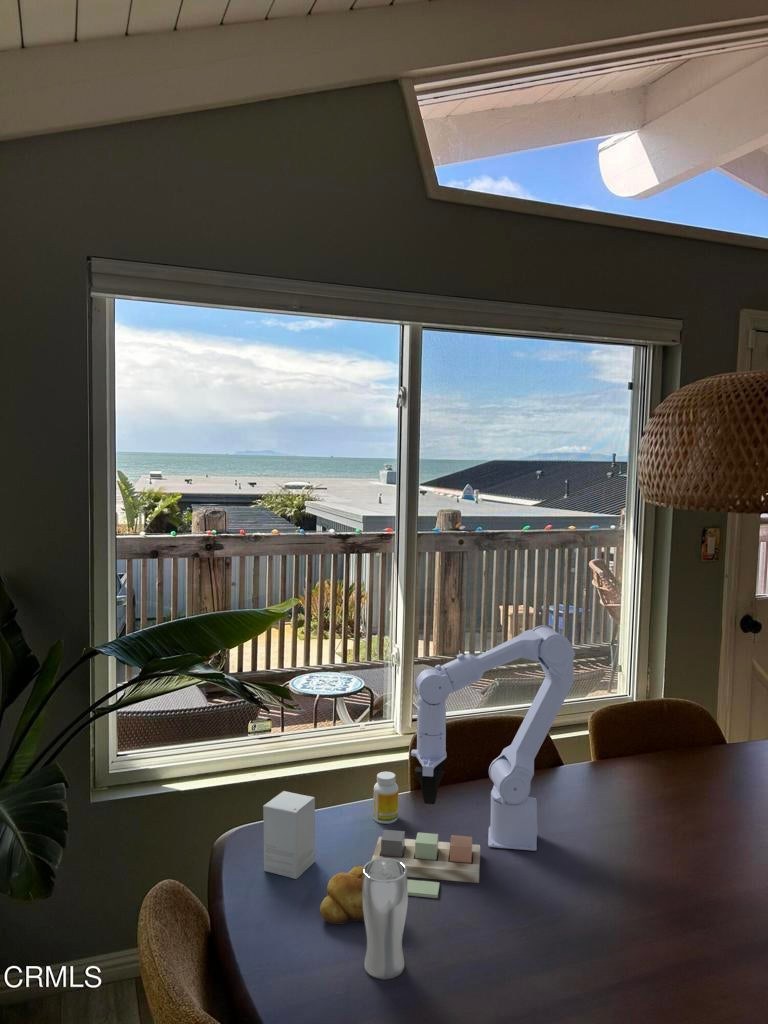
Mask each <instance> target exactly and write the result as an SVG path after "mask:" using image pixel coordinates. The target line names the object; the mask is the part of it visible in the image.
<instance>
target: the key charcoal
mask: <svg viewBox="0 0 768 1024" xmlns="http://www.w3.org/2000/svg"><path fill="white" fill-rule="evenodd" d="M405 832H406V831H405V830H394V829H393V830H392V829H390V830H389V829H383V833H382V835H381V837H382V839H381V855H382V856H386V857H397V858H403V856H402V855H403V851H404V847H405V839H406V838H405V837H406V835H405V834H406V833H405Z"/></svg>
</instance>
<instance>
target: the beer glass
mask: <svg viewBox="0 0 768 1024" xmlns="http://www.w3.org/2000/svg"><path fill="white" fill-rule="evenodd" d="M407 879H408V877H407V869H406V866H405V865H404V864H403V863H402V862H400V861H398V860H396V859H391V858H378V859H374V860H372V859H371V860H369V861H367V862H366V863H364V867H363V879H362V912H363V918H364V921H363V923H364V929H365V936H366V951H365V954H364V955H365V956H364V963H363V966H364V971H365V972H366V973H367V974H368V975H369V976H370V977H372V978H373V979H374V978H375V979H378V980H391V979H394V978H397V977H398V976H400V975H401V974H402V973H403V971H404V970H405V958H404V952H403V935H404V929H405V926H406V925H405V924H406V918H407V913H408V901H409V896H408V885H407Z"/></svg>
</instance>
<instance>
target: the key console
mask: <svg viewBox="0 0 768 1024" xmlns="http://www.w3.org/2000/svg"><path fill="white" fill-rule="evenodd" d="M381 839H382V836H378V839H377V843H376V845H375V848H374V851H373V855H372V857H371V860H374V859H378V858H391V859H396V860H398V861H400V862H402V863H403V864H404V865H405V866H406V869H407V878H418V879H420V878H421V879H430V880H441V881H453V882H462V883H464V882H465V883H473V884H479V883H480V867H481V866H480V865H481V845H480V844H475V843H474V844H473V843H472V860H471V863H465V862H454V861H450V842H449V841H438V853H437V859H436V860H430V859H419V858H415V842H416V839H412V838H405V847H404V851H403V855H402V857H396V856H384V855H381Z"/></svg>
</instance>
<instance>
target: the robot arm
mask: <svg viewBox="0 0 768 1024" xmlns="http://www.w3.org/2000/svg"><path fill="white" fill-rule="evenodd" d="M575 656H576V652H575V649H574V648H573V645H572V644H571V641H570V640H569V638H567V637H566V636H565V635H563V634H560V633H558V632H557V631H555V630H554V629H553V628H552V627H550V626H548V625H545V624H543V625H538V626H535V627H534V628H533V629H528V630H524V631H523V632H520V634H518V635H517V636H514V637H513V638H511V639H509V640H506V641H504V642H503V643H501V644H498V645H496V646H494V647H493V648H491V649H489V650H487V651H485V652H483V653H480V654H479V655H477V656H476V655H473V654H470V653H467V654H463V653H459V654H456V658H454V659H453V660H450V661H448V662H446V663H444V664H442V665H441V664H437V665H435V666H434V668H435V669H434V668H427V669H426V668H425V669H424V670H422V671H421V672H420V673H419V674H418V676H417V677H416V680H415V681H414V686H415V688H416V691H417V692H418V693H419V694H418V695H417V697H418V698H417V710H416V711H417V714H416V716H417V717H416V724H417V725H416V726H417V727H416V749H412V750H411V752H410V755H411V756H412V757H415V758H416V759H417V760H418V762H419V764H420V765H421V766H415V768H414V773H415V774H414V775H415V777H416V778H417V779H418V781H419V784H420V789H421V795H422V799H423V803H424V804H428V805H436V804H435V803H436V801H437V795H438V790H439V785H440V782H441V781H442V778H443V776H444V774H445V770H444V769H443V768H444V766H445V763H446V761H447V757H448V756H447V754H448V753H447V751H446V747H447V745H446V744H447V743H446V742H447V740H446V739H447V738H446V737H447V735H446V734H447V731H446V730H447V724H446V723H447V718H446V717H447V707H446V701H447V700H448V697H449V696H450V694H453V693H455V692H458V691H460V690H462V689H464V688H466V687H469V686H471V685H474V684H475V683H477V682H480V681H481V679H482V677H483V675H484V674H485V673H486V672H487V671H490V670H493V669H495V668H498V667H500V666H503V665H505V664H508V663H511V662H513V661H516V660H518V659H525V660H530V661H533V662H539V664H540V666H541V669H542V671H543V674H544V676H545V677H544V679H543V681H542V683H541V685H540V687H539V689H538V690H537V693H536V694H535V697H534V699H533V701H532V702H531V705H530V707H529V708H528V710H527V712H526V715H525V717H524V718H523V721H522V722H521V724H520V725H519V728H518V730H517V732H516V733H515V736H514V738H513V740H512V742H511V744H510V745H508V746H506V747H504V748H503V749H502V751H501V753H500V755H498V757H496V758H495V759H493V760H492V762H491V763H490V765H489V767H488V776H489V779H490V781H491V782H492V783H493V787H492V790H491V791H490V825H489V826H488V834H487V835H488V838H487V839H488V840H487V844H488V845H487V846H488V847H489V848H495V849H496V848H498V849H508V850H510V849H511V850H512V849H513V850H524V851H532V852H533V851H535V852H536V851H537V841H538V840H537V839H538V835H539V826H538V803H537V798H536V797H531V796H529V795H530V793H531V783H532V779H533V777H534V776H535V758H536V757H537V755H538V753H539V750H540V749H541V746H542V745H543V743H544V741H545V739H546V737H547V736H548V733H549V731H550V730H551V727H552V725H553V724H554V722H555V719H556V718H557V716H558V714H559V712H560V710H561V708H562V706H563V704H564V702H565V700H566V698H567V697H568V695H569V692H570V690H571V689H572V686H573V683H574V681H575V672H574V668H575V667H574V658H575Z"/></svg>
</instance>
